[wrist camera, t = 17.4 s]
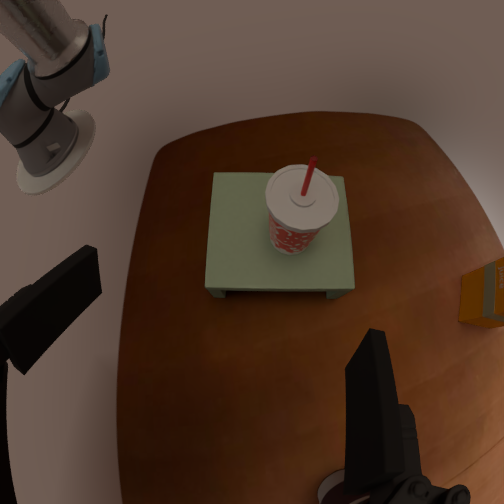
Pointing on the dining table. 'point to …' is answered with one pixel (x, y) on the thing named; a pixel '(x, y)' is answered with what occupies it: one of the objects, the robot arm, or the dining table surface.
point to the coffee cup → (337, 491)
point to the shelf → (262, 250)
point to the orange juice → (483, 296)
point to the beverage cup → (299, 206)
